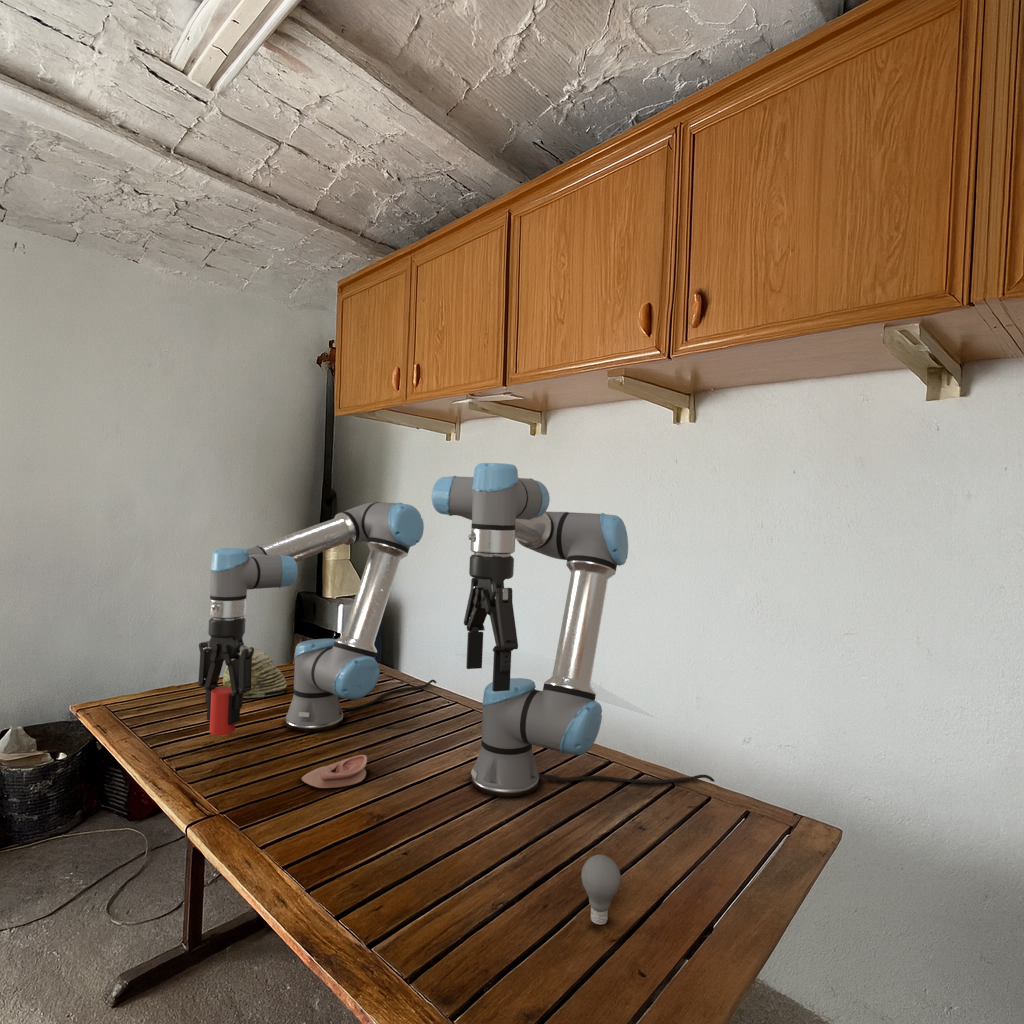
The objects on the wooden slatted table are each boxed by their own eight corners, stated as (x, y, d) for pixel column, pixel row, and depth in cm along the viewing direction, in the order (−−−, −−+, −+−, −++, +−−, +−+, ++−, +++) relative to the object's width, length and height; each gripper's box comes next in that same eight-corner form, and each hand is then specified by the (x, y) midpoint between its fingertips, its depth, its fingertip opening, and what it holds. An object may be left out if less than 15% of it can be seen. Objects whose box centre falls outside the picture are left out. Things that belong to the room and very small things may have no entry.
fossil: (218, 695, 195) (220, 647, 195) (278, 685, 208) (279, 640, 207) (228, 703, 189) (230, 653, 188) (289, 692, 201) (290, 645, 201)
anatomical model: (294, 766, 138) (320, 747, 150) (294, 784, 138) (320, 763, 150) (351, 774, 136) (373, 754, 147) (350, 792, 136) (372, 770, 147)
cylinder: (205, 735, 139) (207, 693, 139) (214, 726, 144) (216, 686, 144) (230, 735, 140) (232, 693, 140) (238, 727, 145) (239, 686, 145)
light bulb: (576, 909, 100) (578, 846, 100) (613, 909, 101) (616, 846, 100) (583, 935, 94) (586, 869, 94) (622, 935, 95) (626, 868, 94)
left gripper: (182, 615, 141) (177, 719, 141) (248, 624, 135) (243, 732, 135) (208, 610, 148) (204, 709, 149) (272, 619, 142) (267, 721, 143)
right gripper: (450, 547, 118) (445, 661, 118) (497, 562, 94) (491, 703, 95) (488, 548, 120) (483, 659, 121) (542, 562, 97) (536, 699, 98)
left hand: (223, 720), depth 142 cm, fingers closed on cylinder, 5 cm apart
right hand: (486, 678), depth 108 cm, fingers open, 13 cm apart
